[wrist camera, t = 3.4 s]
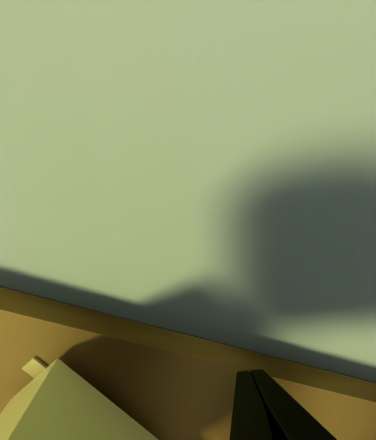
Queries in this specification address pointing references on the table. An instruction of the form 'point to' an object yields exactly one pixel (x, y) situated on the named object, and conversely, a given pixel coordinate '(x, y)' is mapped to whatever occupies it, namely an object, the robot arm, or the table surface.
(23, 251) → the table surface
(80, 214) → the table surface
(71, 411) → the peg lever
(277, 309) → the table surface
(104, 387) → the brown flat wooden board
